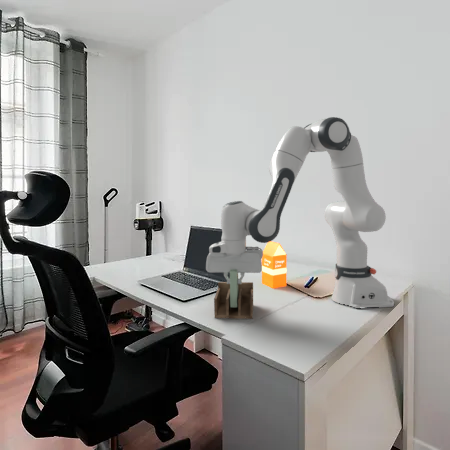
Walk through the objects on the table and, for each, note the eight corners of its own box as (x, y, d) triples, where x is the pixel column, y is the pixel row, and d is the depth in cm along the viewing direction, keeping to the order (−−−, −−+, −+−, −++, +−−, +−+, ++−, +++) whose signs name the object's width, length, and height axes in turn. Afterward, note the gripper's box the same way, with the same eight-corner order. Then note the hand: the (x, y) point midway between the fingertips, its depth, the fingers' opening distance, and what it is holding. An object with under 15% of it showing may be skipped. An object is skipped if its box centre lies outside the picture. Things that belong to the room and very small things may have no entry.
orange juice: (272, 288, 146) (272, 244, 144) (261, 283, 154) (261, 241, 151) (286, 285, 150) (287, 242, 147) (275, 280, 158) (275, 239, 155)
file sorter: (253, 304, 127) (253, 282, 126) (252, 318, 114) (252, 293, 113) (218, 304, 128) (218, 282, 127) (214, 318, 116) (213, 293, 114)
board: (238, 298, 125) (238, 265, 124) (237, 307, 116) (236, 271, 115) (232, 298, 125) (231, 265, 124) (230, 307, 117) (229, 271, 115)
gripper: (262, 245, 120) (262, 281, 122) (207, 244, 122) (208, 281, 124) (263, 248, 114) (263, 287, 116) (204, 248, 116) (205, 286, 118)
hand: (234, 283), depth 120 cm, fingers closed on board, 2 cm apart
